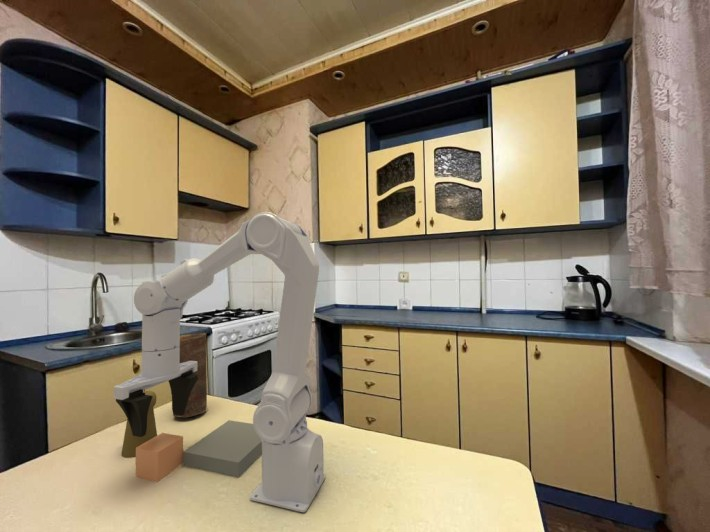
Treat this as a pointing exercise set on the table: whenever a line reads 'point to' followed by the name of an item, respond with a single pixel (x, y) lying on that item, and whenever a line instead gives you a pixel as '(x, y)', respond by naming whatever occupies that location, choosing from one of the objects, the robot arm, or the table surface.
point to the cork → (134, 441)
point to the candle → (195, 351)
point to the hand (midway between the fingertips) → (160, 424)
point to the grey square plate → (225, 450)
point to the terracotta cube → (159, 456)
